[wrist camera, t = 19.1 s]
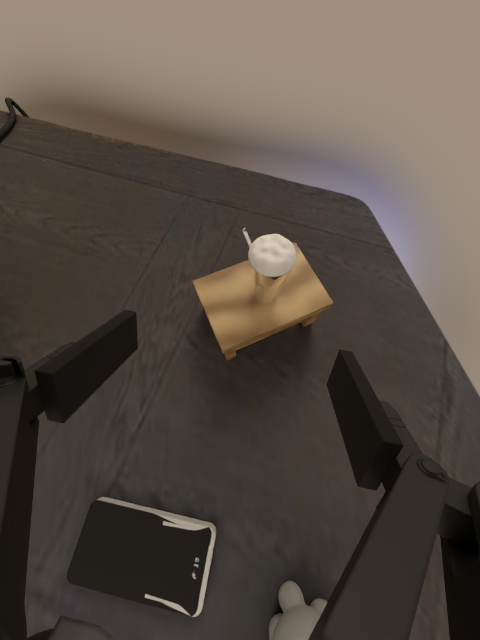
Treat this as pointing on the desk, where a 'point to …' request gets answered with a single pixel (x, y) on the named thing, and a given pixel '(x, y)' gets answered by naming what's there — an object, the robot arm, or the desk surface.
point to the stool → (258, 304)
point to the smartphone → (144, 555)
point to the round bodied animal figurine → (295, 614)
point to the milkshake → (269, 265)
